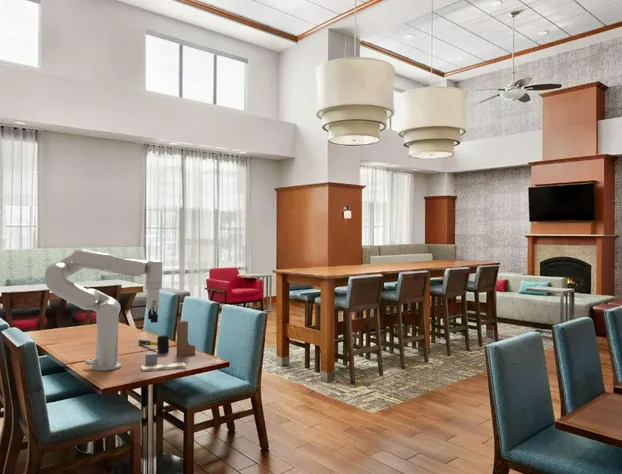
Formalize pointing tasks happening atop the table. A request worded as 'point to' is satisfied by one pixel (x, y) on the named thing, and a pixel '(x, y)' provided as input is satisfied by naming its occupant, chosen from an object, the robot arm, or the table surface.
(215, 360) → the table surface
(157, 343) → the mallet
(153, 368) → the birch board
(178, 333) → the wooden block
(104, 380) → the table surface
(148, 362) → the block
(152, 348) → the table surface
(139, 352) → the table surface
